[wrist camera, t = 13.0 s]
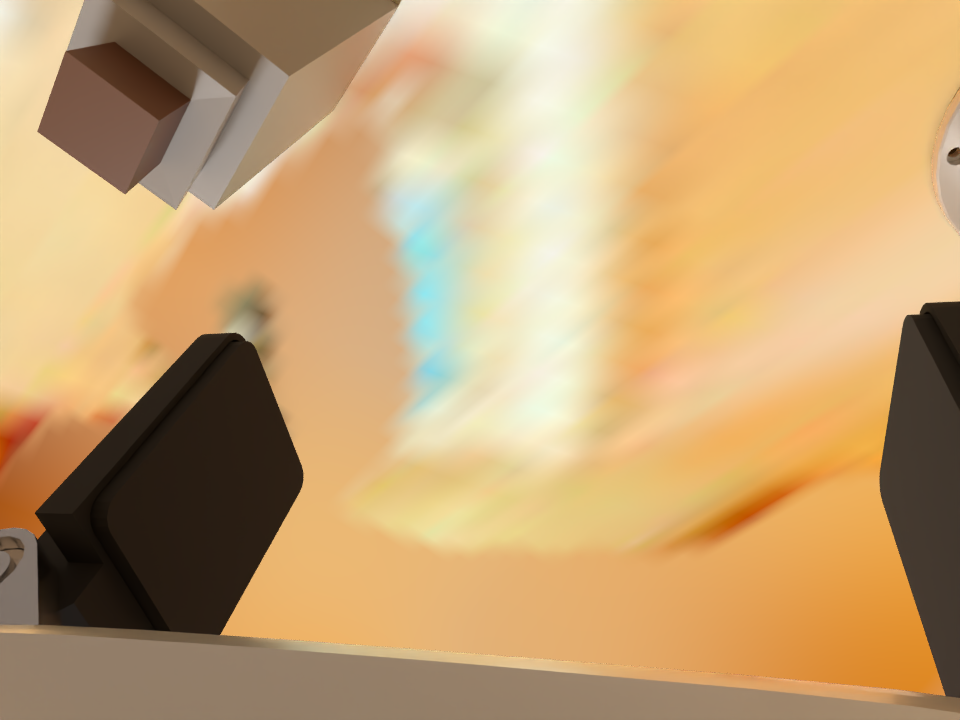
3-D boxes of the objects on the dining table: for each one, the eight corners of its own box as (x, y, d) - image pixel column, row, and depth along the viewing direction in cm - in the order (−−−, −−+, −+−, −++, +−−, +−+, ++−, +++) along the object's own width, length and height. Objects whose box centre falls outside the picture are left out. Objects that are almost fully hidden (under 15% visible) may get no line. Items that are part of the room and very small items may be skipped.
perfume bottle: (284, -91, 36) (27, -41, 21) (398, 6, 37) (229, 114, 23) (227, 26, 40) (-24, 137, 25) (332, 110, 41) (152, 260, 27)
